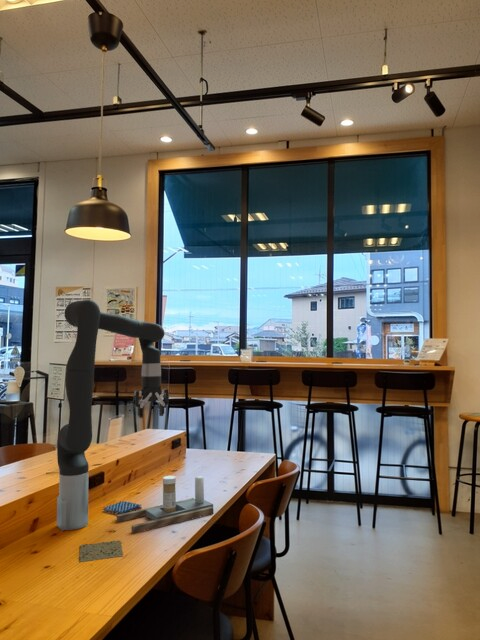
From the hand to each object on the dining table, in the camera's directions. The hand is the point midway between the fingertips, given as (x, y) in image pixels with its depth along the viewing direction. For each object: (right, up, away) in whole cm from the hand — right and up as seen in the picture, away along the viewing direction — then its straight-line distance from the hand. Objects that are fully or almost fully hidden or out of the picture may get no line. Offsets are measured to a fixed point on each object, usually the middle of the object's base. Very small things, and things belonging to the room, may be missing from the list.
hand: (151, 416), depth 185 cm
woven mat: (-8, -32, -12) cm, 36 cm away
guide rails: (+9, -31, -21) cm, 38 cm away
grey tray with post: (+13, -31, -17) cm, 38 cm away
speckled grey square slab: (-5, -29, -49) cm, 57 cm away
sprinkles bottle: (+10, -31, -20) cm, 38 cm away
